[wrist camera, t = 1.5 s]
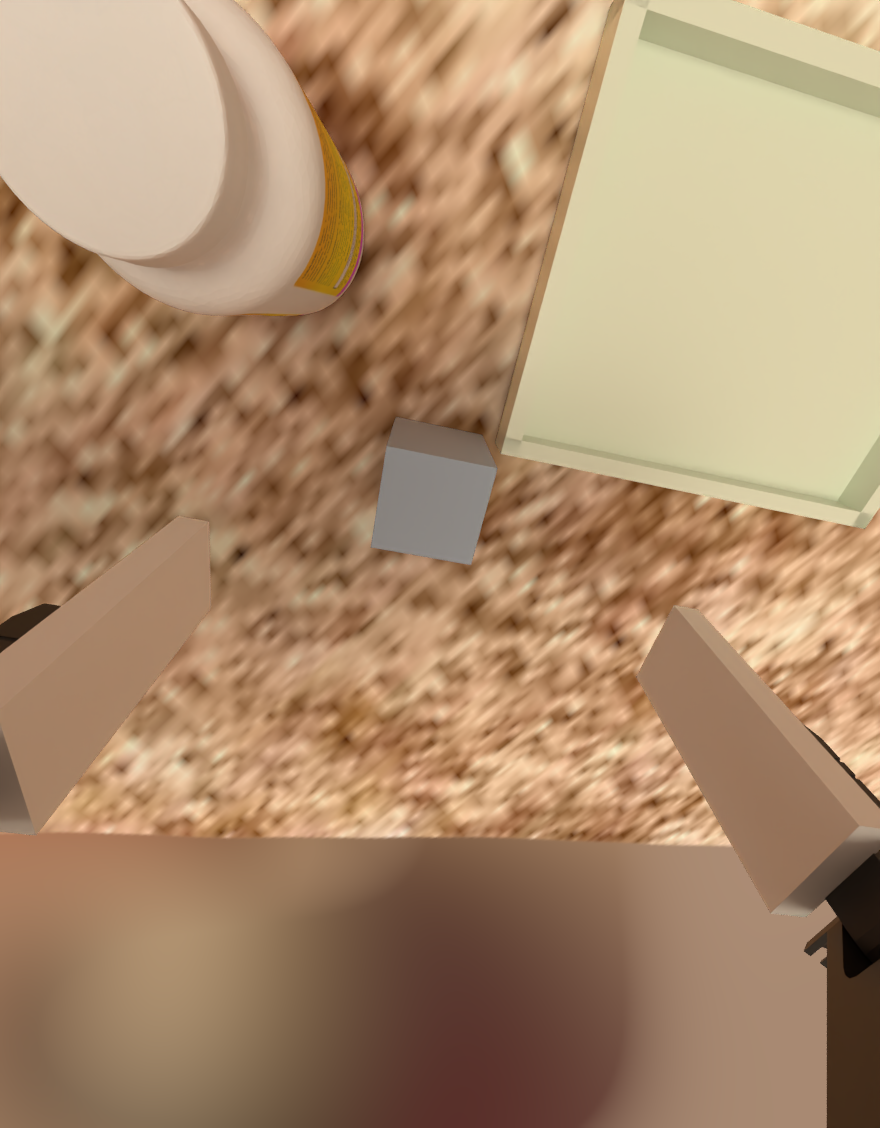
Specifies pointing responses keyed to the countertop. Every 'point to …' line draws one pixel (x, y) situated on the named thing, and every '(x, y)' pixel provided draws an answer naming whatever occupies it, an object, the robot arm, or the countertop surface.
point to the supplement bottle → (177, 153)
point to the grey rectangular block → (433, 491)
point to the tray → (714, 267)
